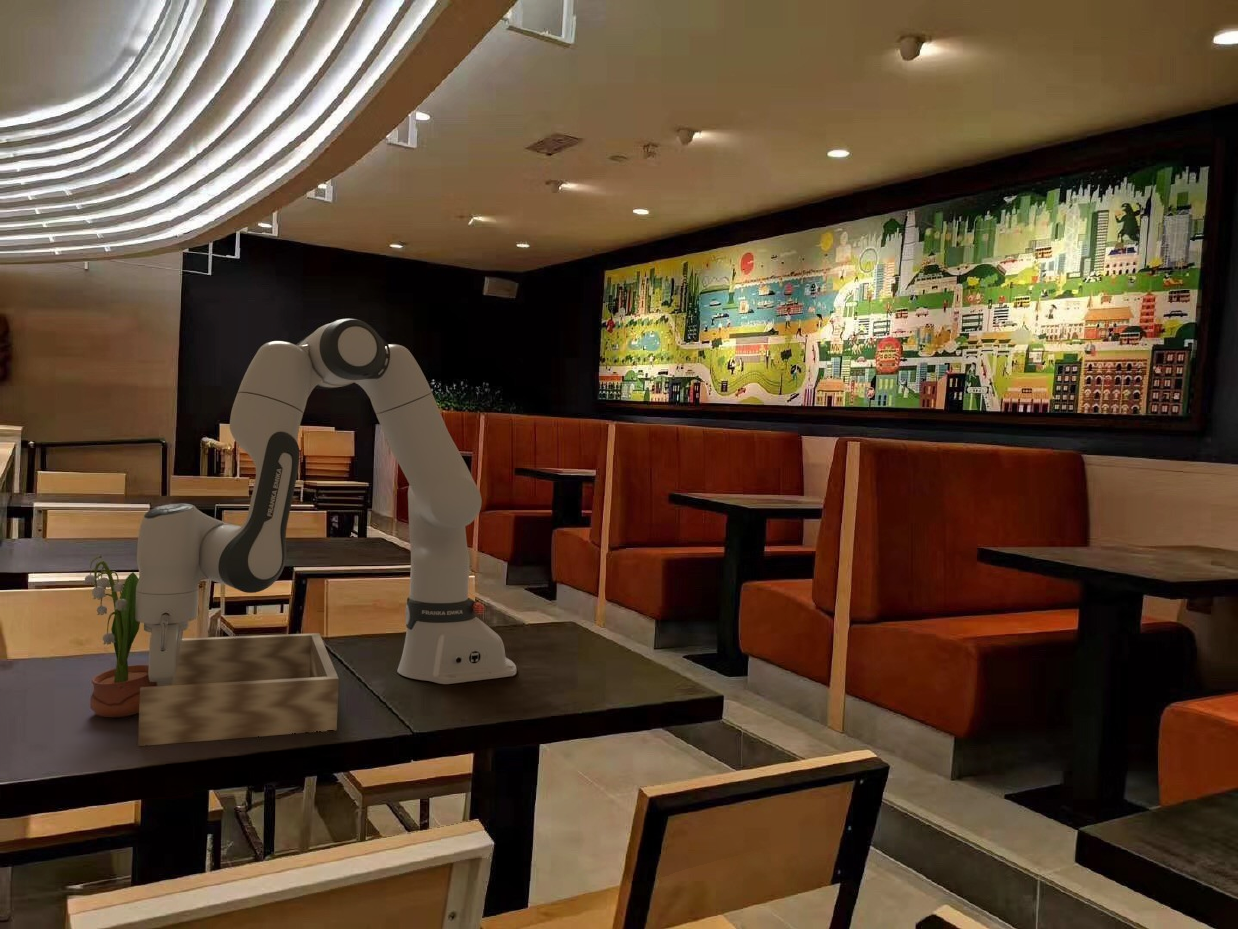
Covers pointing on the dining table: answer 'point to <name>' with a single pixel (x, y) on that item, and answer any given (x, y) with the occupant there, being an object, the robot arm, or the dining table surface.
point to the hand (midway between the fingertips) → (164, 694)
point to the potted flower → (118, 648)
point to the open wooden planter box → (242, 690)
